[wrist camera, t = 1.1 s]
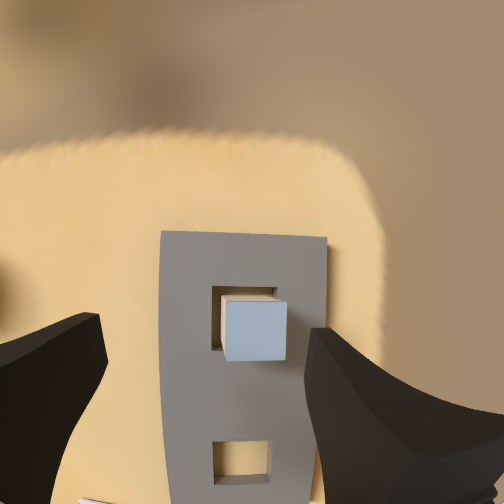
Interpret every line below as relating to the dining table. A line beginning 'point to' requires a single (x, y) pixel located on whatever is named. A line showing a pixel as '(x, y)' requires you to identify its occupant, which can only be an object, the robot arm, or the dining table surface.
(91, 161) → the dining table surface
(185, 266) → the socket board
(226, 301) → the plug
